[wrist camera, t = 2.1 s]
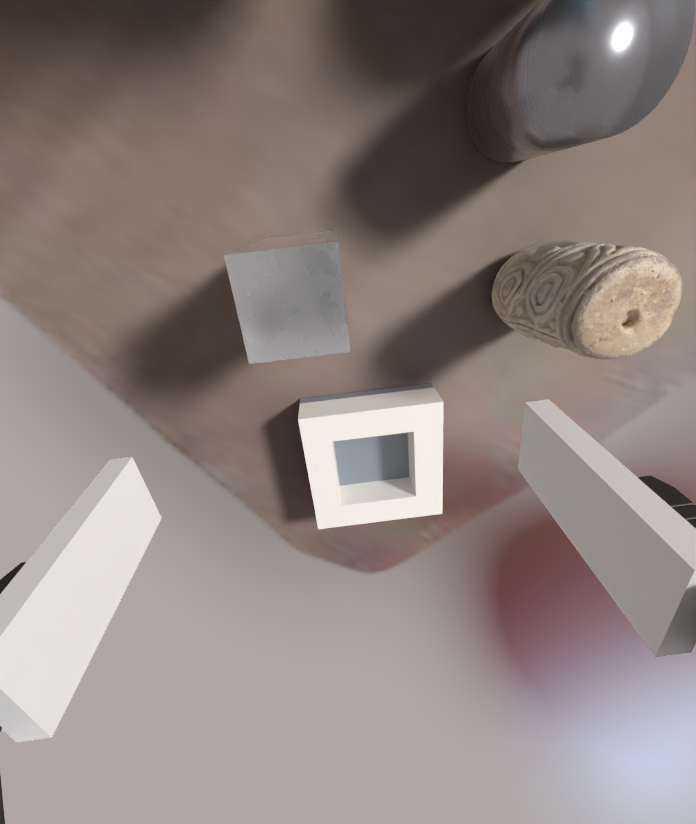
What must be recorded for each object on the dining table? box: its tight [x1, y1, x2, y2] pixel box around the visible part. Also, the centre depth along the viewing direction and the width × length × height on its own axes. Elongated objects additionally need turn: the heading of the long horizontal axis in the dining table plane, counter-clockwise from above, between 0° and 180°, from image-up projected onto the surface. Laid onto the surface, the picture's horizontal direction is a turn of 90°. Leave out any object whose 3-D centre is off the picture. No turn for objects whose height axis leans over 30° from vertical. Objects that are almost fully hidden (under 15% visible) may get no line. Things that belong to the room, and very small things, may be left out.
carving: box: [492, 241, 682, 359], centre depth 27 cm, size 6×8×12 cm
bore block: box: [298, 383, 443, 529], centre depth 36 cm, size 12×12×4 cm
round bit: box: [465, 0, 695, 163], centre depth 22 cm, size 7×7×10 cm
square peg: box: [224, 230, 350, 364], centre depth 24 cm, size 5×5×14 cm
